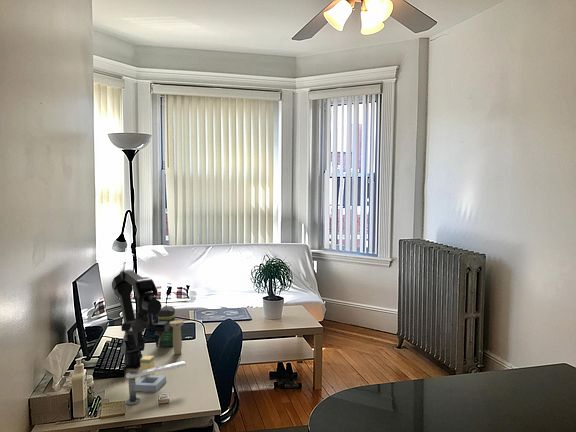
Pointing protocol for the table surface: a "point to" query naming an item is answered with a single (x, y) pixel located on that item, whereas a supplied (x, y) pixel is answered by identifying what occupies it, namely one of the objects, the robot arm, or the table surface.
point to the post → (132, 393)
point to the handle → (177, 335)
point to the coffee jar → (169, 315)
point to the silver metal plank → (154, 370)
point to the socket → (150, 383)
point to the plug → (147, 363)
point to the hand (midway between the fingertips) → (146, 346)
